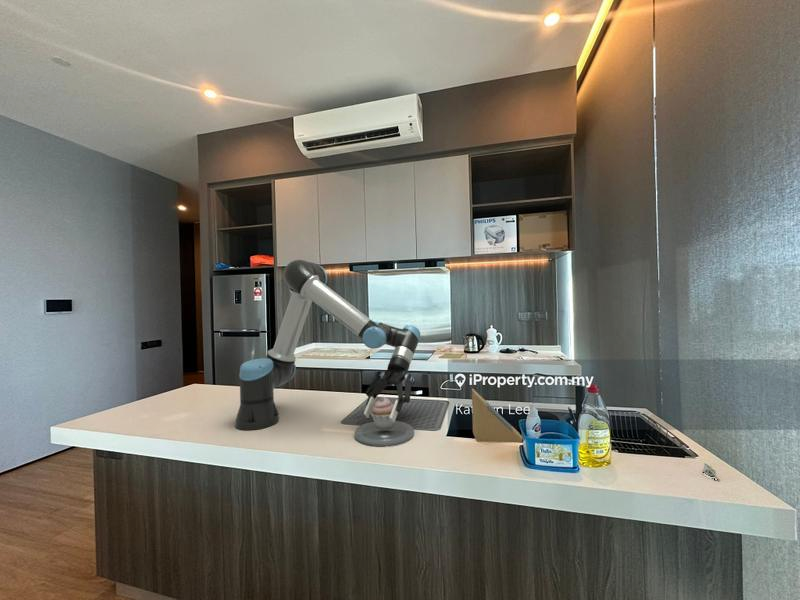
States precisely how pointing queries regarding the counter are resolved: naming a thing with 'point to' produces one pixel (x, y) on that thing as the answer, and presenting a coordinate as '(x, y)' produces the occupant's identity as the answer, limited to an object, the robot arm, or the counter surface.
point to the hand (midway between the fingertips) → (378, 417)
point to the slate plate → (384, 434)
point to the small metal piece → (710, 470)
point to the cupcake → (382, 414)
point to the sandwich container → (490, 423)
